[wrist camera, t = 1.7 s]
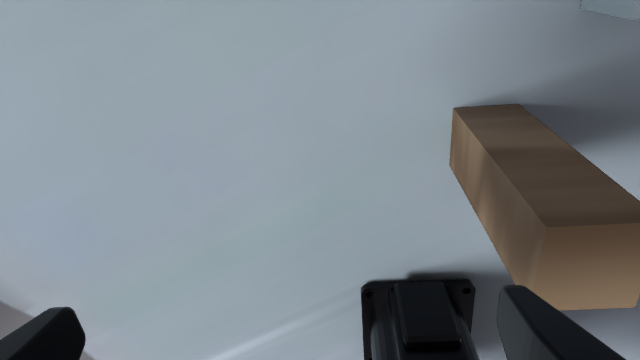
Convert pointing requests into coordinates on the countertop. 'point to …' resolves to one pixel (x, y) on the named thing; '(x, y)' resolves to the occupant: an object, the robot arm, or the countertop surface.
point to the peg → (548, 209)
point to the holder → (614, 8)
